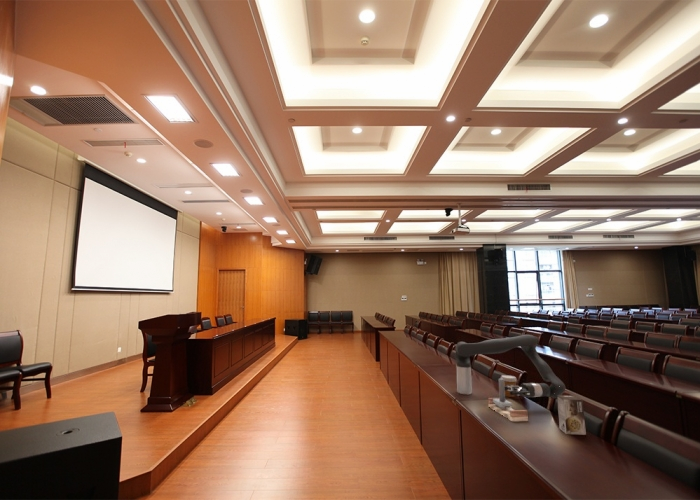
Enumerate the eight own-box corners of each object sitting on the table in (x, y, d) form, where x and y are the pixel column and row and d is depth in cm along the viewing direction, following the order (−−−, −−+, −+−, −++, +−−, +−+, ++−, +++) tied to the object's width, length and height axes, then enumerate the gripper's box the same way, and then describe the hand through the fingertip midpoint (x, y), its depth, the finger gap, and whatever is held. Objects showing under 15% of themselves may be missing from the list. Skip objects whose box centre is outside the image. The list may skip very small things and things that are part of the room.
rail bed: (488, 407, 190) (488, 398, 191) (502, 406, 192) (502, 397, 192) (512, 421, 169) (511, 411, 170) (527, 420, 170) (527, 410, 171)
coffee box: (578, 429, 160) (575, 395, 162) (586, 435, 154) (583, 399, 156) (558, 428, 161) (556, 394, 163) (566, 434, 154) (563, 398, 157)
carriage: (492, 404, 188) (491, 377, 190) (504, 404, 189) (502, 377, 191) (501, 409, 180) (499, 381, 182) (512, 409, 181) (511, 380, 183)
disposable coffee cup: (498, 394, 216) (497, 375, 217) (508, 392, 220) (507, 374, 221) (510, 398, 207) (509, 379, 209) (520, 396, 211) (519, 377, 213)
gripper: (522, 380, 196) (498, 380, 193) (539, 386, 182) (513, 387, 179) (523, 393, 195) (498, 393, 192) (540, 400, 181) (513, 401, 178)
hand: (505, 390), depth 186 cm, fingers open, 8 cm apart
